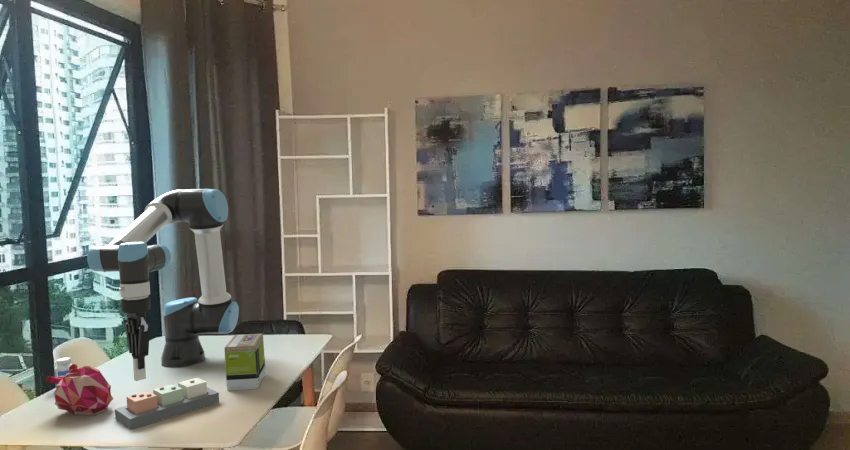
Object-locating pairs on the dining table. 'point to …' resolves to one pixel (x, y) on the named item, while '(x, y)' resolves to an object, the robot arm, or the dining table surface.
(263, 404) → the dining table surface
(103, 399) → the sculpture
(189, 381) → the tile one
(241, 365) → the tea box
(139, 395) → the tile three
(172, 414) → the button board
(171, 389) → the tile two
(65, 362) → the pill bottle
